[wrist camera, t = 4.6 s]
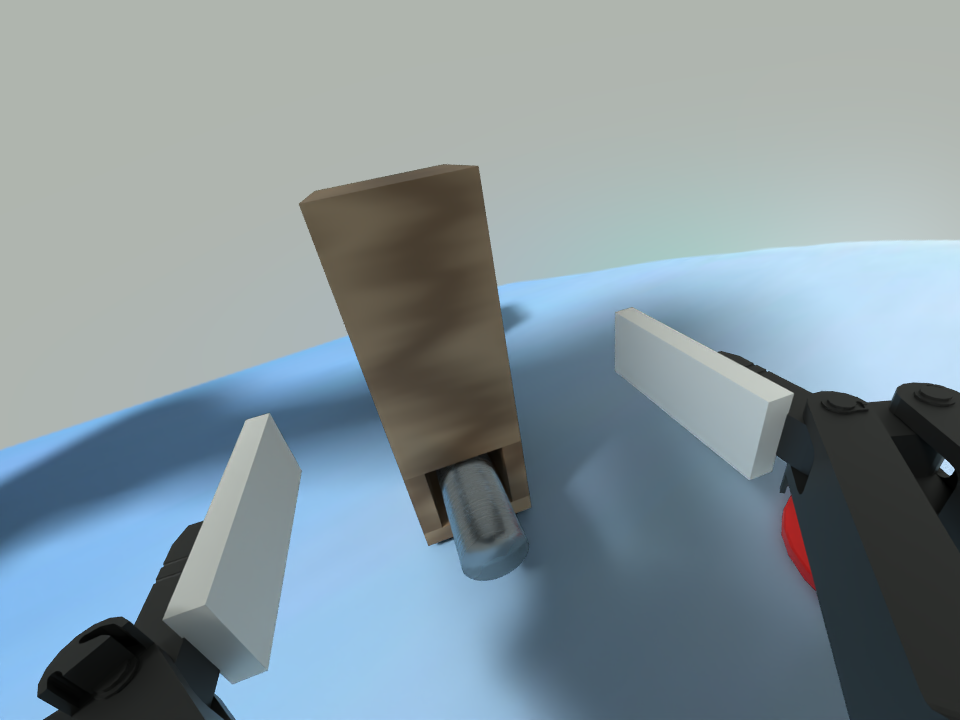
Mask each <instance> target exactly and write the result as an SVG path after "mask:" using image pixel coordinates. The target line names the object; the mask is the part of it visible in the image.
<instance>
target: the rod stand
mask: <svg viewBox="0 0 960 720" xmlns="http://www.w3.org/2000/svg"><path fill="white" fill-rule="evenodd" d="M436 473H437V477H438V481H439V485H440V488H441V492H442V496H443V500H444V503H445V507H446V511H447V514H448V518H449V522H450V526H451V529H452V533H453V537H454V540H455V544H456V548H457V552H458V555H459V559H460V563H461V566H462V570H463V572H464V574H465V575H466V576H467V577H469V578H471V579H473V580H479V581H487V580H493V579H497V578H500V577H502V576H504V575H506V574H508V573H510V572H511V571H513V570H514V569H516V568H517V567H518V566H519V565H520V564H521V563H522V562H523V560H524V559H525V557H526V556H527V553H528V550H529V543H528V540H527V538H526V536H525V534H524V532H523V529H522V527H521V525H520V523H519V521H518V519H517V516H516V514H515V512H514V510H513V508H512V506H511V503H510V501H509V499H508V497H507V495H506V493H505V490H504V488H503V486H502V484H501V482H500V480H499V477H498V475H497V473H496V471H495V469H494V467H493V464H492V462H491V460H490V458H489V456H488V454H487V453H484V454H481V455H478V456H475V457H472V458H469V459H466V460H464V461H461V462H458V463H455V464H452V465H449V466H446V467H443V468H440V469H437V470H436Z"/></svg>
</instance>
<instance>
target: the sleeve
mask: <svg viewBox="0 0 960 720" xmlns="http://www.w3.org/2000/svg"><path fill="white" fill-rule="evenodd" d="M299 206H300V208H301V211H302V214H303V216H304V219H305V222H306V224H307V227H308V229H309V232H310V235H311V237H312V240H313V243H314V245H315V248H316V251H317V253H318V256H319V258H320V261H321V264H322V266H323V269H324V272H325V274H326V277H327V280H328V282H329V285H330V287H331V290H332V293H333V295H334V298H335V300H336V303H337V306H338V309H339V311H340V314H341V316H342V319H343V322H344V324H345V327H346V330H347V332H348V335H349V338H350V340H351V343H352V346H353V348H354V351H355V353H356V356H357V359H358V361H359V364H360V367H361V369H362V372H363V375H364V377H365V380H366V382H367V385H368V388H369V390H370V393H371V396H372V398H373V401H374V404H375V406H376V409H377V411H378V414H379V417H380V419H381V422H382V425H383V427H384V430H385V433H386V435H387V438H388V440H389V443H390V446H391V448H392V451H393V454H394V456H395V459H396V462H397V464H398V467H399V469H400V472H401V475H402V477H403V480H404V483H405V485H406V488H407V491H408V493H409V496H410V499H411V501H412V504H413V506H414V509H415V512H416V514H417V517H418V520H419V522H420V525H421V528H422V530H423V533H424V535H425V538H426V541H427V543H428V546H430V545H432V544H435V543H438V542H440V541H443V540H446V539H449V538H451V537H453V533H452V529H451V526H450V522H449V518H448V514H447V511H446V507H445V503H444V500H443V496H442V492H441V488H440V485H439V481H438V477H437V473H436V470H437V469H440V468H443V467H446V466H449V465H452V464H455V463H458V462H461V461H464V460H466V459H469V458H472V457H475V456H478V455H481V454H484V453H487V454H488V456H489V458H490V460H491V462H492V464H493V467H494V469H495V471H496V473H497V475H498V477H499V480H500V482H501V484H502V486H503V488H504V490H505V493H506V495H507V497H508V499H509V501H510V503H511V506H512V508H513V510H514V512H515V513H518V512H521V511H523V510H526V509H529V508H531V501H530V495H529V488H528V482H527V475H526V469H525V463H524V456H523V450H522V443H521V437H520V430H519V424H518V417H517V411H516V405H515V398H514V392H513V385H512V379H511V372H510V366H509V360H508V353H507V347H506V340H505V334H504V327H503V321H502V315H501V308H500V302H499V295H498V289H497V283H496V276H495V269H494V263H493V257H492V250H491V244H490V237H489V231H488V225H487V218H486V212H485V206H484V199H483V192H482V186H481V180H480V173H479V167H478V166H469V165H447V164H443V165H438V166H433V167H428V168H423V169H418V170H414V171H409V172H404V173H399V174H394V175H390V176H385V177H381V178H375V179H371V180H366V181H361V182H356V183H351V184H347V185H342V186H337V187H332V188H327V189H322V190H318V191H314V192H313V193H312V194H310V195H309V196H308V197H307V198H305V199H304V200H303V201H302V202H300V203H299Z"/></svg>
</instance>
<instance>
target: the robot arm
mask: <svg viewBox="0 0 960 720" xmlns="http://www.w3.org/2000/svg"><path fill="white" fill-rule="evenodd" d="M615 372H617V373H618V374H619V375H620V376H621V377H623V378H624V379H625V380H626V381H628V382H629V383H630V384H631V385H633V386H634V387H635V388H636V389H637V390H639V391H640V392H641V393H642V394H644V395H645V396H646V397H647V398H649V399H650V400H651V401H652V402H653V403H655V404H656V405H657V406H658V407H660V408H661V409H662V410H663V411H664V412H666V413H667V414H668V415H669V416H671V417H672V418H673V419H674V420H676V421H677V422H678V423H679V424H680V425H682V426H683V427H684V428H685V429H687V430H688V431H689V432H690V433H692V434H693V435H694V436H695V437H696V438H698V439H699V440H700V441H701V442H703V443H704V444H705V445H706V446H708V447H709V448H710V449H711V450H712V451H714V452H715V453H716V454H717V455H719V456H720V457H721V458H722V459H724V460H725V461H726V462H727V463H728V464H730V465H731V466H732V467H733V468H735V469H736V470H737V471H738V472H740V473H741V474H742V475H743V476H744V477H746V478H747V479H748V480H749V481H750V480H752V479H755V478H757V477H760V476H762V475H765V474H767V473H770V472H772V469H773V466H774V462H775V459H776V455H777V456H778V457H780V458H781V459H783V460H784V461H785V462H787V467H786V470H785V473H784V476H783V480H782V483H781V486H780V493H785V491H786V488H787V486H789V488H790V492H791V496H792V500H793V504H794V507H795V511H796V515H797V519H798V523H799V527H800V530H801V534H802V538H803V542H804V546H805V550H806V554H807V557H808V561H809V565H810V569H811V573H812V577H813V580H814V584H815V588H816V592H817V596H818V600H819V603H820V607H821V611H822V615H823V619H824V623H825V626H826V630H827V634H828V638H829V642H830V646H831V649H832V653H833V657H834V661H835V665H836V669H837V672H838V676H839V680H840V684H841V688H842V692H843V695H844V699H845V703H846V707H847V711H848V715H849V718H850V720H960V393H959V392H957V391H955V390H952V389H949V388H946V387H944V386H941V385H936V384H935V385H934V384H930V383H907V384H902V385H901V386H899V387H897V389H896V391H895V394H894V396H893V398H892V400H891V401H879V402H865V401H863V400H862V399H860V398H858V397H855V396H852V395H849V394H846V393H840V392H834V391H821V392H817V393H811V392H809V391H807V390H805V389H803V388H801V387H799V386H797V385H795V384H793V383H791V382H789V381H787V380H785V379H783V378H781V377H779V376H777V375H775V374H773V373H772V372H770V371H768V372H767V371H766V369H764V368H762V367H760V366H758V365H754V363H752V362H750V361H748V360H746V359H744V358H742V357H740V356H737V355H734V354H730V353H726V352H723V351H720V352H716V351H714V350H712V349H710V348H708V347H706V346H704V345H702V344H701V343H699V342H697V341H695V340H693V339H691V338H689V337H687V336H686V335H684V334H682V333H680V332H678V331H676V330H674V329H672V328H670V327H669V326H667V325H665V324H663V323H661V322H659V321H657V320H655V319H654V318H652V317H650V316H648V315H646V314H644V313H642V312H640V311H639V310H637V309H635V308H633V307H631V308H628V309H624V310H621V311H618V312H615ZM944 459H946V460H947V461H948V462H949V463H950V464H951V465H952V466H953V467H954V469H955V471H954V472H953V474H952V475H951V476H949V475H948V474H946V473H945V472H944V471H943V470H942V469H941V468H940V466H941V464H942V462H943V461H944ZM301 472H302V471H301V469H300V467H299V465H298V463H297V462H296V460H295V458H294V456H293V454H292V453H291V451H290V449H289V447H288V445H287V443H286V442H285V440H284V438H283V436H282V434H281V433H280V431H279V429H278V427H277V425H276V424H275V422H274V420H273V418H272V416H271V415H270V413H268V414H264V415H261V416H257V417H254V418H251V419H247V420H246V421H245V423H244V426H243V428H242V431H241V433H240V435H239V438H238V440H237V443H236V445H235V447H234V450H233V452H232V454H231V457H230V459H229V462H228V464H227V466H226V469H225V471H224V474H223V476H222V478H221V481H220V483H219V486H218V488H217V490H216V493H215V495H214V498H213V500H212V502H211V505H210V507H209V510H208V512H207V514H206V517H205V519H204V521H201V522H198V523H195V524H192V525H189V526H188V527H187V528H186V529H185V530H184V531H183V533H182V534H181V535H180V536H179V537H178V539H177V540H176V541H175V542H174V543H173V545H172V546H171V549H170V551H169V553H168V555H167V557H166V559H165V561H164V563H163V565H164V567H162V568H161V570H160V572H159V574H158V576H157V578H156V583H155V584H153V587H152V589H151V591H150V593H149V595H148V597H147V599H146V601H145V603H144V606H143V608H142V610H141V612H140V614H139V616H138V618H137V620H136V622H135V625H133V624H132V623H131V622H130V621H128V620H127V619H125V618H123V617H114V618H108V619H106V620H104V621H101V622H99V623H97V624H94V625H93V626H91V627H90V628H88V629H87V630H85V631H84V632H82V633H81V634H79V635H78V636H76V637H75V638H74V639H73V640H72V641H71V642H70V643H69V644H68V645H66V646H65V647H64V648H63V649H62V650H61V651H60V652H59V653H58V654H57V656H56V657H55V658H54V659H53V661H52V662H51V663H50V664H49V666H48V667H47V668H46V670H45V672H44V674H43V676H42V678H41V680H40V682H39V684H38V692H37V697H38V698H40V699H42V700H43V701H45V702H47V703H48V704H50V705H52V706H54V707H55V708H57V709H59V710H58V711H56V712H54V713H53V714H51V715H50V716H48V717H47V718H45V719H43V720H235V718H234V717H233V715H232V714H231V713H230V711H229V710H228V708H227V707H226V706H225V704H224V703H223V702H222V700H221V699H220V698H219V697H218V696H217V695H215V694H214V692H215V689H216V685H217V681H218V677H219V673H221V674H222V675H223V676H224V677H225V678H226V679H227V680H228V681H229V682H230V683H231V684H235V683H237V682H240V681H242V680H245V679H247V678H250V677H252V676H255V675H258V674H260V673H263V672H265V671H268V666H269V660H270V654H271V648H272V643H273V637H274V631H275V625H276V619H277V613H278V607H279V601H280V596H281V590H282V584H283V578H284V572H285V566H286V560H287V554H288V549H289V543H290V537H291V531H292V525H293V519H294V513H295V508H296V502H297V496H298V490H299V484H300V478H301Z"/></svg>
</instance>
